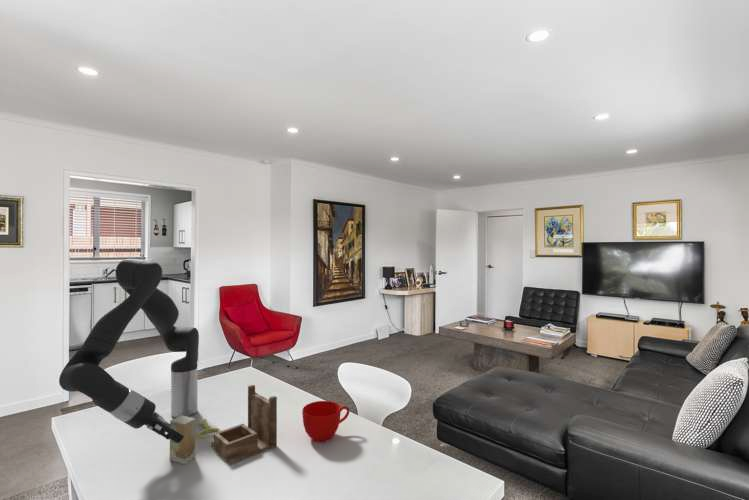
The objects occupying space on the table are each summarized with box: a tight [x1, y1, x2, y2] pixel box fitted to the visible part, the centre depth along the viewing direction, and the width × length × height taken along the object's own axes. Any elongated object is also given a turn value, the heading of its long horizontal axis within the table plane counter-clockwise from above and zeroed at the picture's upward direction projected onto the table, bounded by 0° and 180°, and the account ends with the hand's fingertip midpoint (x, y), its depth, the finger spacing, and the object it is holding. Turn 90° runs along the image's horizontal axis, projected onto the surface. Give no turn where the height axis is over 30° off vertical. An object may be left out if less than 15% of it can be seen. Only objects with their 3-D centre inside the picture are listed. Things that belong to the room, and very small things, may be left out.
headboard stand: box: [210, 384, 278, 465], centre depth 125 cm, size 17×15×16 cm
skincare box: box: [169, 415, 197, 465], centre depth 117 cm, size 6×4×12 cm
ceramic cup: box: [301, 400, 350, 443], centre depth 131 cm, size 13×17×10 cm
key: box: [197, 418, 221, 440], centre depth 135 cm, size 7×12×2 cm, turn 50°
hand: (176, 434), depth 116 cm, fingers open, 8 cm apart
